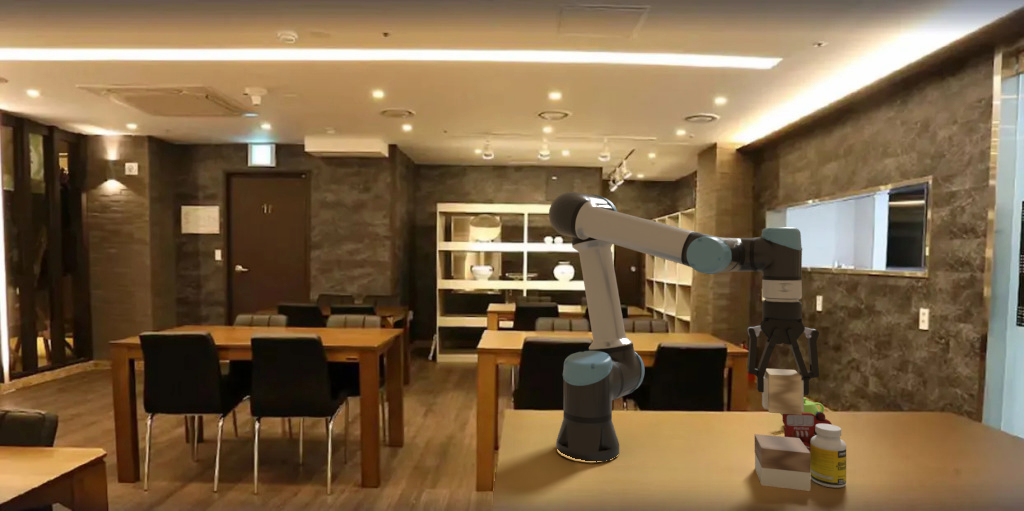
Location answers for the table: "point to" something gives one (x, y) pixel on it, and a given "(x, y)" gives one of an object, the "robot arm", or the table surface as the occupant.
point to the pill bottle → (828, 456)
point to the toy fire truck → (803, 426)
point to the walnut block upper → (782, 453)
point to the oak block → (784, 391)
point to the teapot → (811, 407)
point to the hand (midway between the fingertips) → (782, 408)
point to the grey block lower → (782, 478)
